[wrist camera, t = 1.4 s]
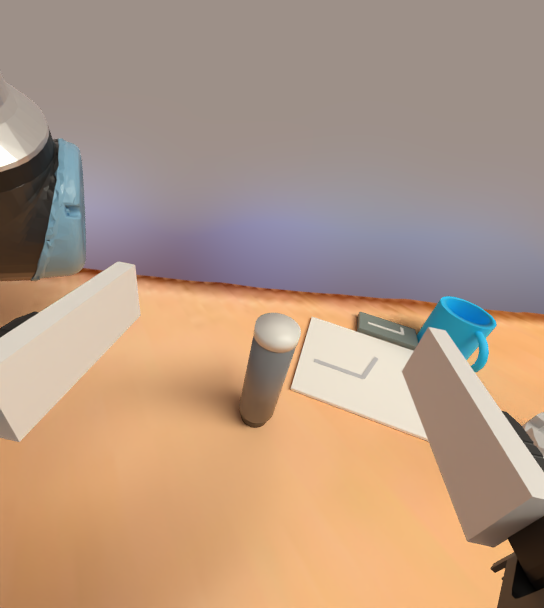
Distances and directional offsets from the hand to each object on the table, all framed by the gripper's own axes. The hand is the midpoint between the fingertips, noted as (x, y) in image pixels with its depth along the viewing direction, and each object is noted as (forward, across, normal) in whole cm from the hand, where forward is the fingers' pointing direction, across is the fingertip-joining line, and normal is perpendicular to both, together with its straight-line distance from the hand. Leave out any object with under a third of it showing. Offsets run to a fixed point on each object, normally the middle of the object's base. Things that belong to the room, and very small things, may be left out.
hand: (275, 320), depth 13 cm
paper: (+20, +14, -19) cm, 31 cm away
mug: (+28, +29, -20) cm, 45 cm away
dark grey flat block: (+30, +20, -19) cm, 41 cm away
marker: (+9, 0, -20) cm, 22 cm away
